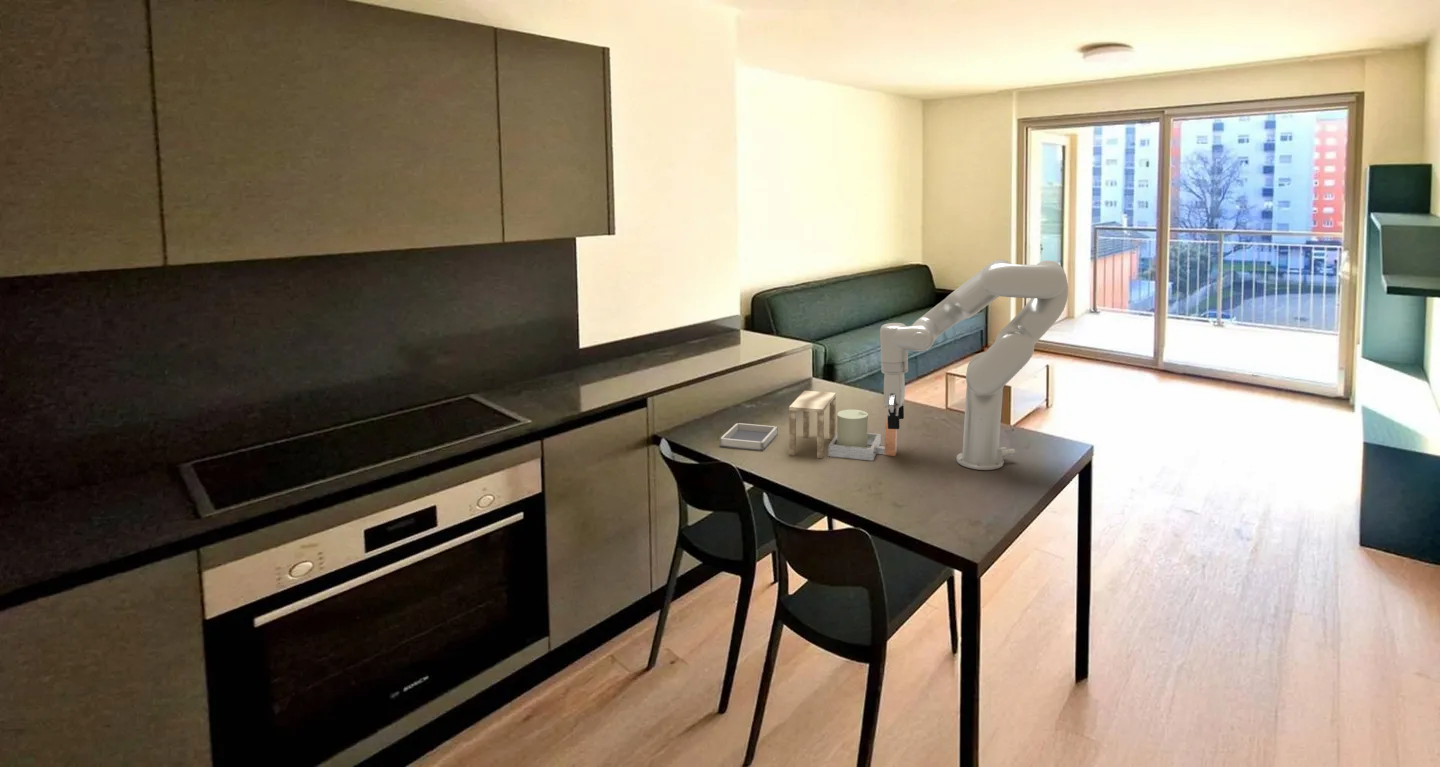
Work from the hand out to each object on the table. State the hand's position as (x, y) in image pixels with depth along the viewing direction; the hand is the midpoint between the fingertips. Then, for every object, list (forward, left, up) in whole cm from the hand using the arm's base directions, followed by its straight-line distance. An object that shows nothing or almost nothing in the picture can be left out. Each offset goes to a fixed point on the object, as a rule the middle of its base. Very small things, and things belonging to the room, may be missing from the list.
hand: (896, 423), depth 216 cm
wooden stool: (+22, -11, -10) cm, 27 cm away
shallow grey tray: (+8, -4, -9) cm, 13 cm away
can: (+11, -6, -10) cm, 16 cm away
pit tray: (+40, -21, -10) cm, 46 cm away
